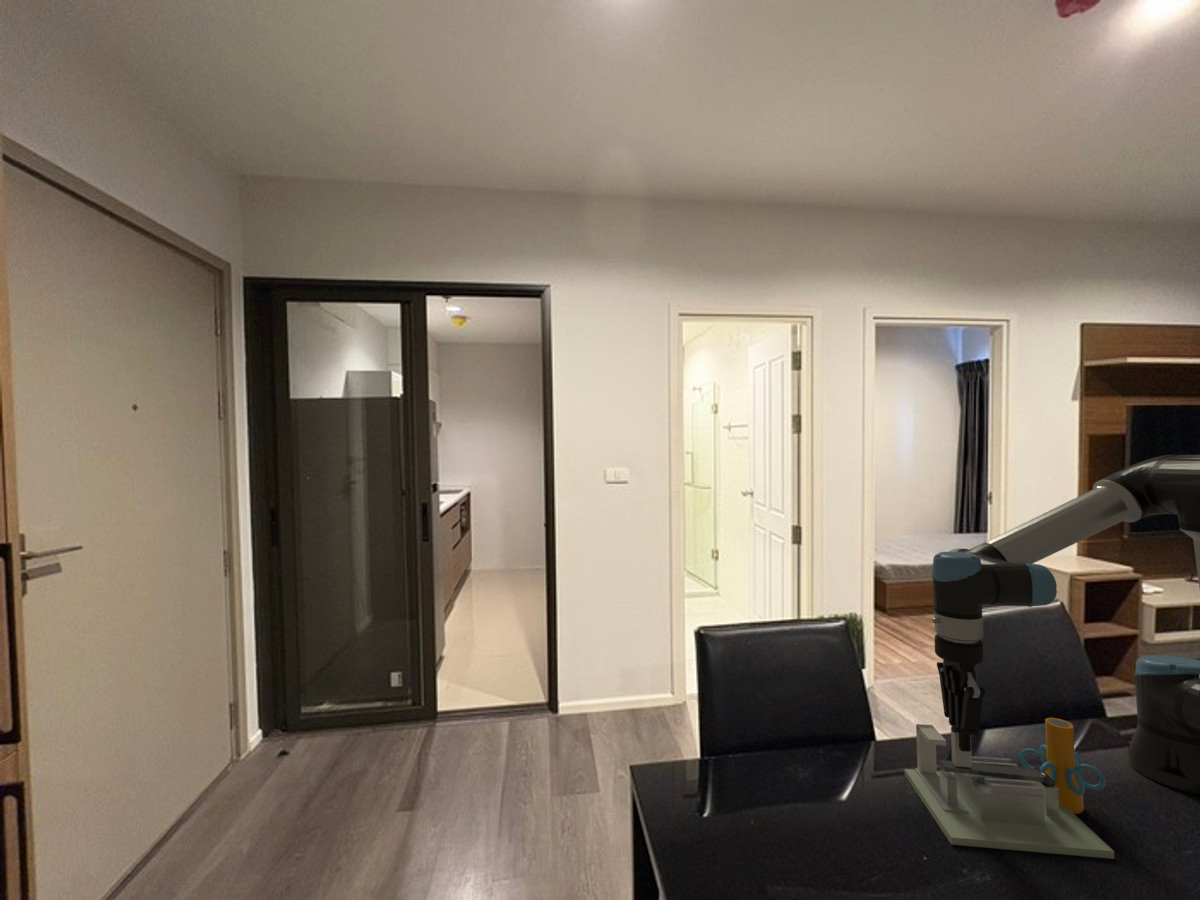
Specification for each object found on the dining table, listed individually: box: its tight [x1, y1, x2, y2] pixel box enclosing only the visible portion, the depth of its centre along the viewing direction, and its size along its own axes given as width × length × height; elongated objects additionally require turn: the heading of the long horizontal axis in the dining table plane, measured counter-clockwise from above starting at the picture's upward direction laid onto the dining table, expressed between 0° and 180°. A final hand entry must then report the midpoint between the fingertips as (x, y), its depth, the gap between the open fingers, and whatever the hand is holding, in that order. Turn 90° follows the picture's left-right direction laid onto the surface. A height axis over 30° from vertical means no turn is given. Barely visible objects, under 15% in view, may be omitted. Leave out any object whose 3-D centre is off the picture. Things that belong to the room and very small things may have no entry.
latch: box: [915, 723, 947, 773], centre depth 107 cm, size 3×6×9 cm, turn 170°
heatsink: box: [939, 755, 1059, 826], centre depth 98 cm, size 18×10×6 cm, turn 81°
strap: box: [938, 759, 1056, 787], centre depth 98 cm, size 18×4×1 cm, turn 80°
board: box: [904, 767, 1115, 859], centre depth 98 cm, size 24×20×2 cm
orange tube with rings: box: [1019, 717, 1107, 815], centre depth 100 cm, size 12×10×15 cm
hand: (961, 764), depth 99 cm, fingers closed
